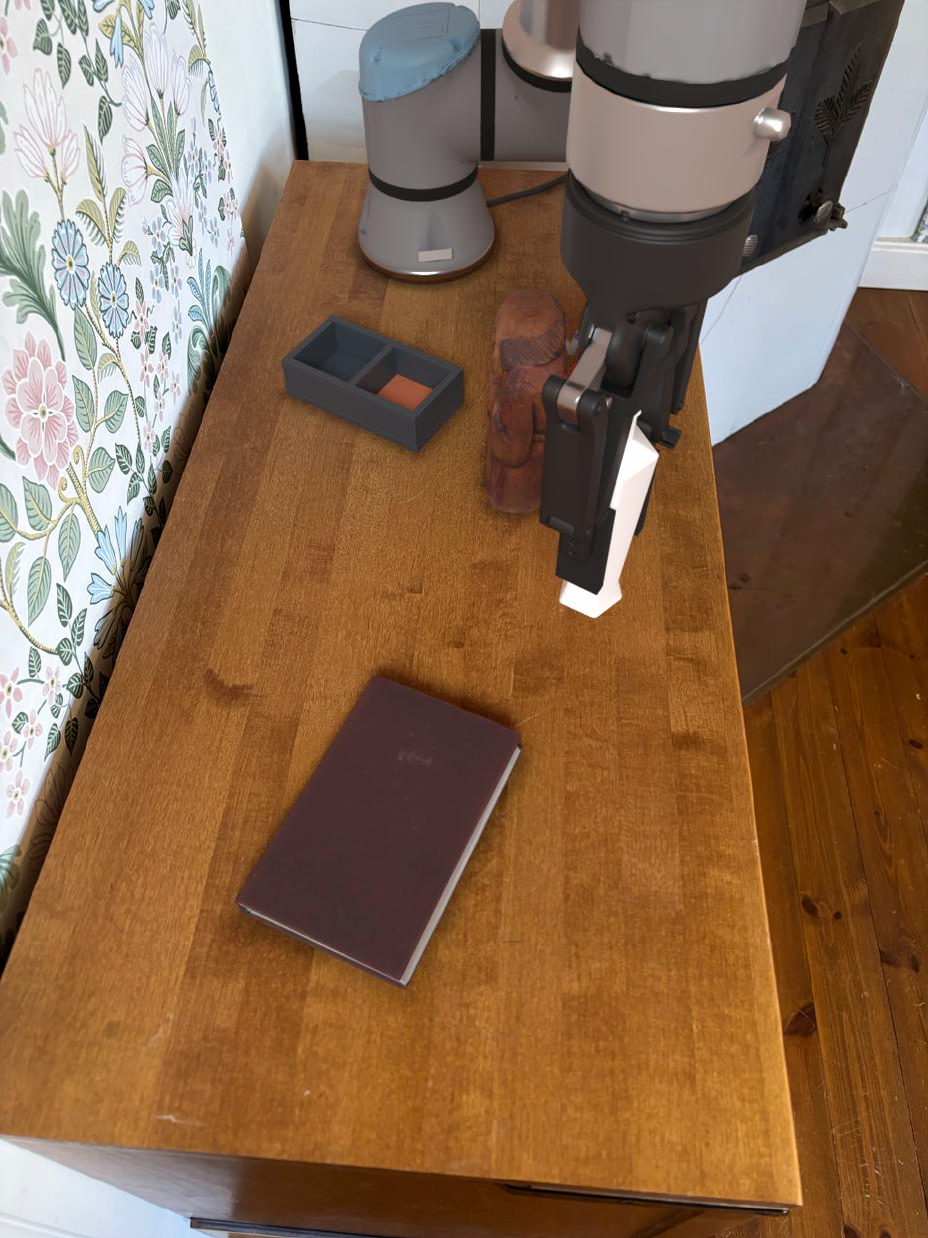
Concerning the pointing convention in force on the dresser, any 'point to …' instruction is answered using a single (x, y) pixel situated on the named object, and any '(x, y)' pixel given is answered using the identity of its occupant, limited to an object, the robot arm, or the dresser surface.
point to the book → (383, 830)
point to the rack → (374, 382)
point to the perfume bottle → (619, 524)
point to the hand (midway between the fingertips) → (599, 551)
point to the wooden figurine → (521, 396)
